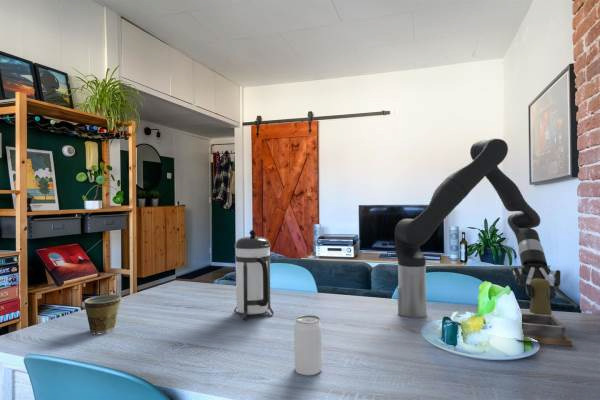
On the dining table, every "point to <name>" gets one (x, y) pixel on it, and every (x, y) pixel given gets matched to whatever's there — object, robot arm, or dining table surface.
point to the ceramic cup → (102, 312)
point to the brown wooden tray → (545, 329)
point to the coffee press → (252, 275)
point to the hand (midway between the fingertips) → (541, 297)
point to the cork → (540, 297)
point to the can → (308, 345)
